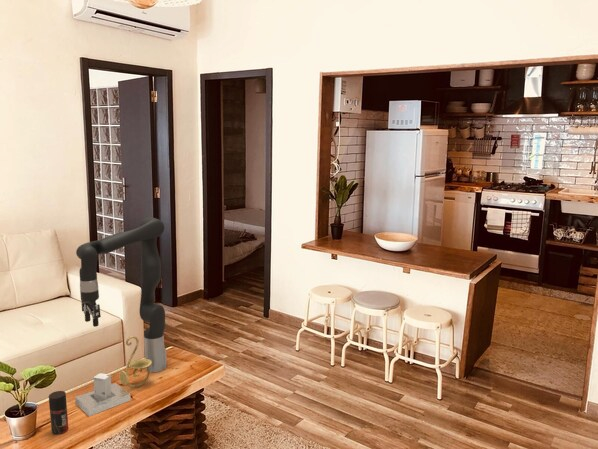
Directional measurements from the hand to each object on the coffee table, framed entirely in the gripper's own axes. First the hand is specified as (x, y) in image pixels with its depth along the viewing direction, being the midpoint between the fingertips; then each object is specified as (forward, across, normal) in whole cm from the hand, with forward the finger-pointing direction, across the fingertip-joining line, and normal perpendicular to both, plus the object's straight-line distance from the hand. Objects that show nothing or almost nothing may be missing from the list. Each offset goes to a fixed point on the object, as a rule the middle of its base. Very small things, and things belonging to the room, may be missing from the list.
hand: (91, 323), depth 223 cm
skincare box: (+30, -17, +4) cm, 35 cm away
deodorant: (+30, -25, +25) cm, 47 cm away
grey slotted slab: (+30, -17, +4) cm, 34 cm away
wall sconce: (+30, -15, -13) cm, 36 cm away
